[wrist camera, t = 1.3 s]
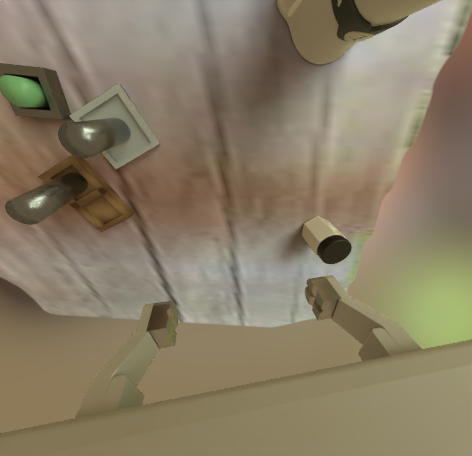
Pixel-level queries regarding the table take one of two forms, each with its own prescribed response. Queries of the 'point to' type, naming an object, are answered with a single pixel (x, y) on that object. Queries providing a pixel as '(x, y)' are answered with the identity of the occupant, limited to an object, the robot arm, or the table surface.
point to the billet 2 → (93, 136)
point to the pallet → (92, 194)
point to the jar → (326, 240)
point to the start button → (23, 91)
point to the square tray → (121, 107)
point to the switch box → (50, 89)
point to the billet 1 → (46, 198)
